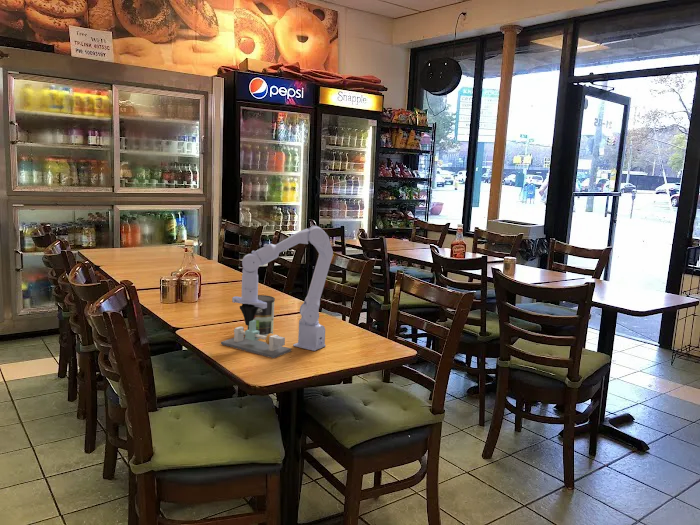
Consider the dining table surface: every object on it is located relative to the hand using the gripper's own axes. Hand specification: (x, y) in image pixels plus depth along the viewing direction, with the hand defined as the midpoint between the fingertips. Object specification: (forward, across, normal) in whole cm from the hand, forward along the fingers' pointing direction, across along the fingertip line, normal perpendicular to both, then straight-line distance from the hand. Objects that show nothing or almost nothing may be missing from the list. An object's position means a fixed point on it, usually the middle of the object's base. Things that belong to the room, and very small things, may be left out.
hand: (248, 324), depth 201 cm
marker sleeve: (+5, +2, 0) cm, 5 cm away
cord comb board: (+8, +4, 0) cm, 9 cm away
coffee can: (+8, -8, +16) cm, 19 cm away
